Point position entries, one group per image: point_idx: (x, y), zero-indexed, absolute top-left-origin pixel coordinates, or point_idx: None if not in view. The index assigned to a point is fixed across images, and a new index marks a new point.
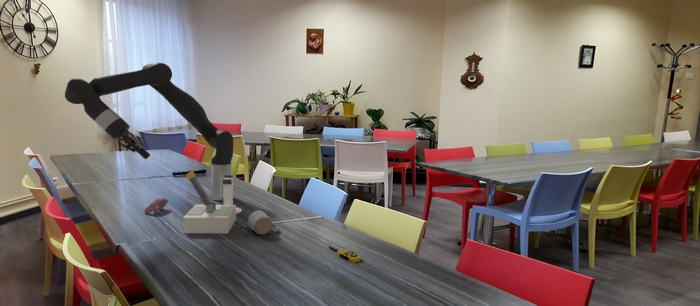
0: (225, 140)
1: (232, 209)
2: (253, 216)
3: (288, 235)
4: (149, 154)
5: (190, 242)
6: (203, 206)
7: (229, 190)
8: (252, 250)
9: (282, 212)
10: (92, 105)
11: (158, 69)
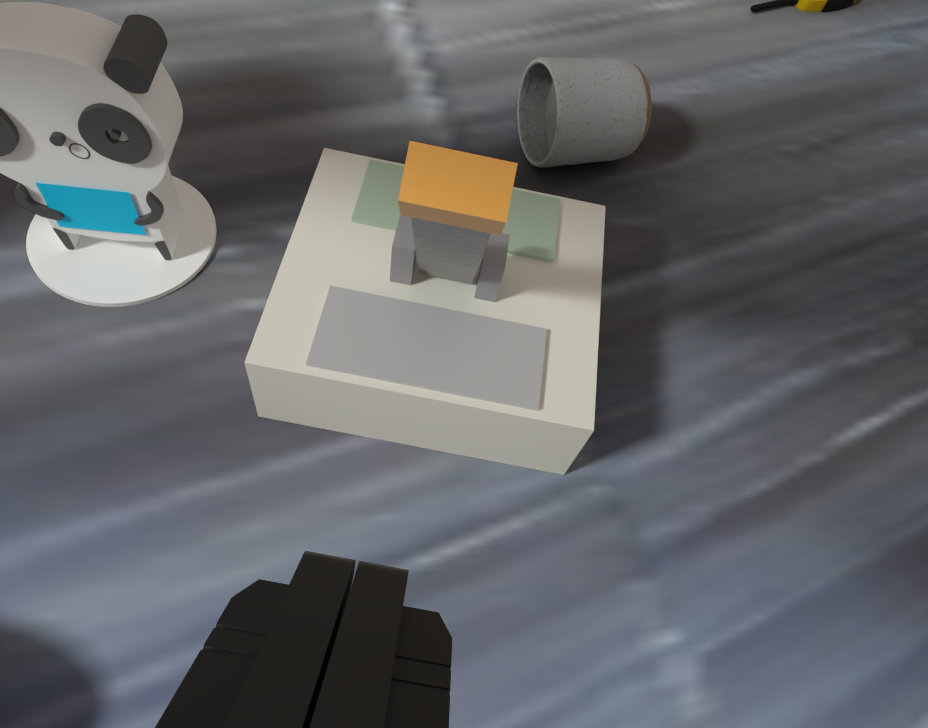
0: None
1: None
2: (600, 105)
3: None
4: (343, 561)
5: (718, 431)
6: (336, 311)
7: (172, 105)
8: (797, 203)
9: (256, 28)
10: None
11: None
